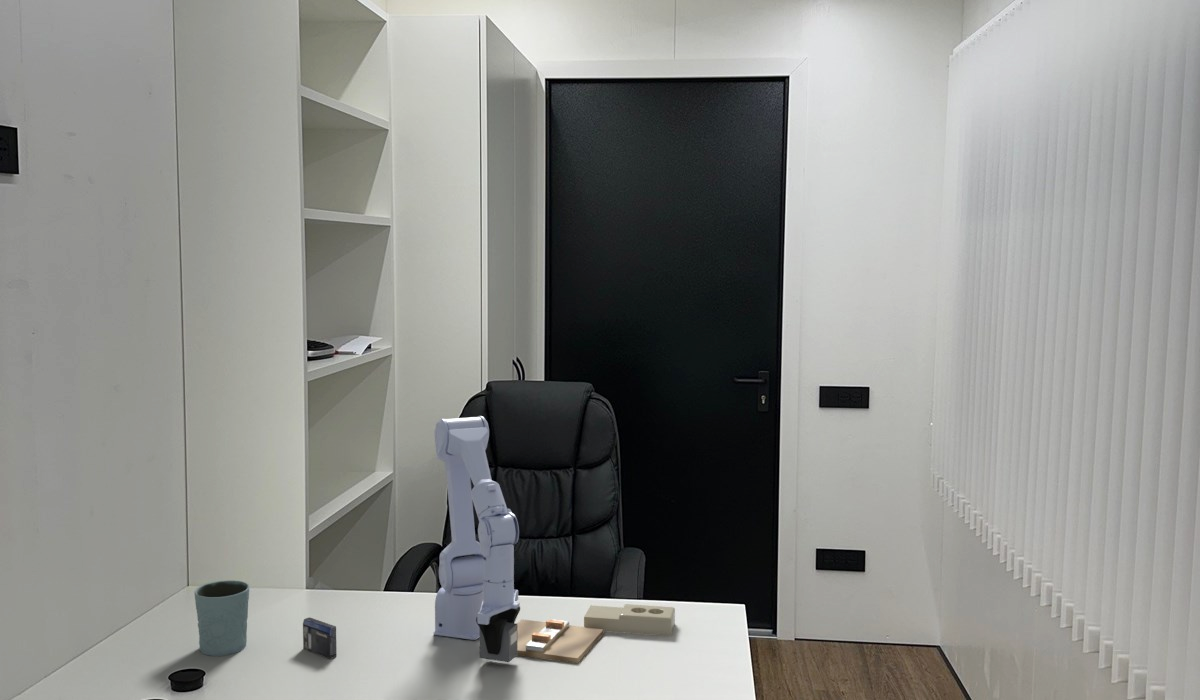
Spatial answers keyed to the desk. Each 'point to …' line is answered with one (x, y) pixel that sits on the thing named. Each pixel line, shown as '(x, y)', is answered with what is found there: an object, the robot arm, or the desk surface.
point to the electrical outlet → (632, 619)
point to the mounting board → (558, 641)
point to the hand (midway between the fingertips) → (498, 648)
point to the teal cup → (222, 617)
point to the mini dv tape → (319, 637)
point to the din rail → (547, 635)
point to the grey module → (502, 645)
